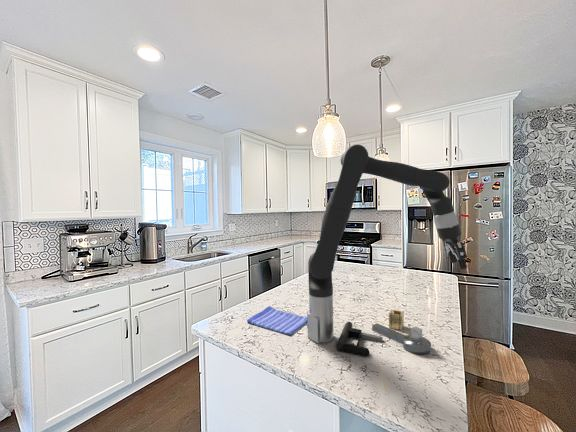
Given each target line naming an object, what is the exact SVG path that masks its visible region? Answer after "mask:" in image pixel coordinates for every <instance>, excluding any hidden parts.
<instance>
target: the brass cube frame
mask: <svg viewBox="0 0 576 432" xmlns="http://www.w3.org/2000/svg"><path fill="white" fill-rule="evenodd" d="M404 314H405V311H403V310H402V311H401V310H398V309H397V310H396V309H390V311H389V314H388V328H389V329H392V330H393V329H394V330H398V331H399V330H400V331H403V328H404V322H405V321H404V320H405V318H404V317H405V315H404Z"/></svg>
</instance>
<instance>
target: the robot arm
mask: <svg viewBox="0 0 576 432" xmlns="http://www.w3.org/2000/svg"><path fill="white" fill-rule="evenodd" d="M366 148H367V147H365V146H363V145H361V144H354V145H350V146H349V147H347V148H346V149H345V150H344V151H343V153H342V154H341V157H340V164H341V170H340V174H339V177H338V180H337V182H336V184H335V187H334V188H333V190H332V192H331V194H330V196H329V199H328V202H327V205H326V207H325V210H324V214H323V216H322V221H321V222H322V223H321V228H320V236H319V239H318V244H317V246H316V248H315V250H314V252H313V253H312V254H311V255H310V257H309V258H308V263H307V265H308V266H307V268H308V309H309V310H308V313H306V317H307V325H306V326H307V328H306V329H307V338H308V339H310V340H311V341H313V342H314V343H316V344H321V343H329V342H332V341H333V339H334V287H333V276H332V275H333V271H334V268H335V267H334V266H335V262H336V256H337V252H338V248H339V245H340V241H341V240H342V237H343V235H344V232H345V230H346V227H347V224H348V222H349V218H350V216H351V212H352V208H353V205H354V202H355V198H356V193H357V189H358V187H359V186H358V185H359V184H360V180H361V178H362V175H363V174H367V175H370V176H371V175H372V176H375V177H380V178H384V179H386V180H389V181H393V182H396V183H399V184H404V185H407V186H411V187H420V188H421V189H422V192H423V195H424V196H425V198H426V200H427V202H428V203H429V205H430V208H431V212H432V216H433V223H434V225H435V229H436V232H437V235H438V238H439V239H440V240H441V241H442V245H443V249H444V251H445V252H446V253H447V254H448V257H449V261H450V263H451V264H455V263H458V266H459V270H467V269H468V265H467V262H466V259H468V255H467V251H466V249H465V245H464V243H463V241H460V240H459V239H458V238H459V237H461V236H462V233H463V232H462V230H461V226H460V224H459V220H458V217H457V215H456V212H455V209H454V206H453V202H452V200H451V198H450V197H449V196H446V195H445V193H444V191H445V190H447V189H448V188H449V185H450V177H448V175H446V173H443V172H441V171H437V170H436V171H435V170H433V169H432V170H431V169H426V168H425V169H423V168H420V167H416V166H413V165H411V164H410V165H409V164H406V163H401V162H398V161H397V162H396V161H389V160H388V161H387V160H382V159H377V158H375V157H371V156H369V151H368V149H366Z"/></svg>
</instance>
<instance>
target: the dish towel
mask: <svg viewBox="0 0 576 432" xmlns="http://www.w3.org/2000/svg"><path fill="white" fill-rule="evenodd" d="M246 321H247V323H248V324H251V325H254V326H257V327H259V328H263V329H267V330H269V331H273V332H276V333H279V334H284V335H289V336H292V335H294V334H295V333H296V332H298V331H299V330H300V329H302V328H303V327H304V326H306V324H307V315H306V316H304V315H303V316H302V315H300V314H299V315H298V314H296V313H295V314H294V313H291V312H288V311H283V310H280V309H276V308H274V307H272V306H271V305H270V306H267V307H265V308H264V309H263V310H262V311H260V312H258V313H256V314H254V315H252V316H250V317H249V318H248V319H246ZM301 327H302V328H301Z"/></svg>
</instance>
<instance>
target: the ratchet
mask: <svg viewBox="0 0 576 432" xmlns="http://www.w3.org/2000/svg"><path fill="white" fill-rule="evenodd" d="M371 330H372V331H374V332H375V333H377V334H380V335H382V336H384V337H386V338H388V339H391V340H392V341H395V342H396V343H399V344H401V345H402V347H403V349H404V350H406V351H407V352H408V353H410V354H413V355H419V356H426V355H429V354H431V352H432V343H431V341H430V340H429V339H428V338H425V337H423V329H422V328H421V327H418V326H414V327H412V328H411V329H410V334H407V335H405V334H404V333H401V332H399V331H396V330H395V329H394V330H393V329H392V328H389V327H388V326H384V325H382V324H380V323H375V324H372V325H371Z"/></svg>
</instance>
